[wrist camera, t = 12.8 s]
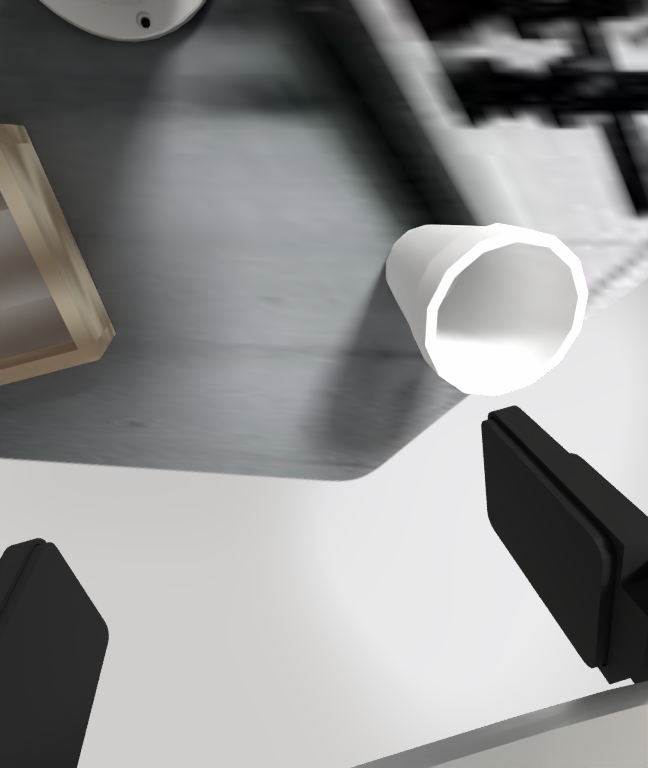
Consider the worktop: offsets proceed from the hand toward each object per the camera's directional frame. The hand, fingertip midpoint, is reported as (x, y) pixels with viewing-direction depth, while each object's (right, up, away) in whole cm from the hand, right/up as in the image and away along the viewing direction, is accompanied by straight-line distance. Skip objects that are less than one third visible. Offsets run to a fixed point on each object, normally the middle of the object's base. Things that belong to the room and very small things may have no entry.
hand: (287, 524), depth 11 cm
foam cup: (+9, +12, +28) cm, 32 cm away
